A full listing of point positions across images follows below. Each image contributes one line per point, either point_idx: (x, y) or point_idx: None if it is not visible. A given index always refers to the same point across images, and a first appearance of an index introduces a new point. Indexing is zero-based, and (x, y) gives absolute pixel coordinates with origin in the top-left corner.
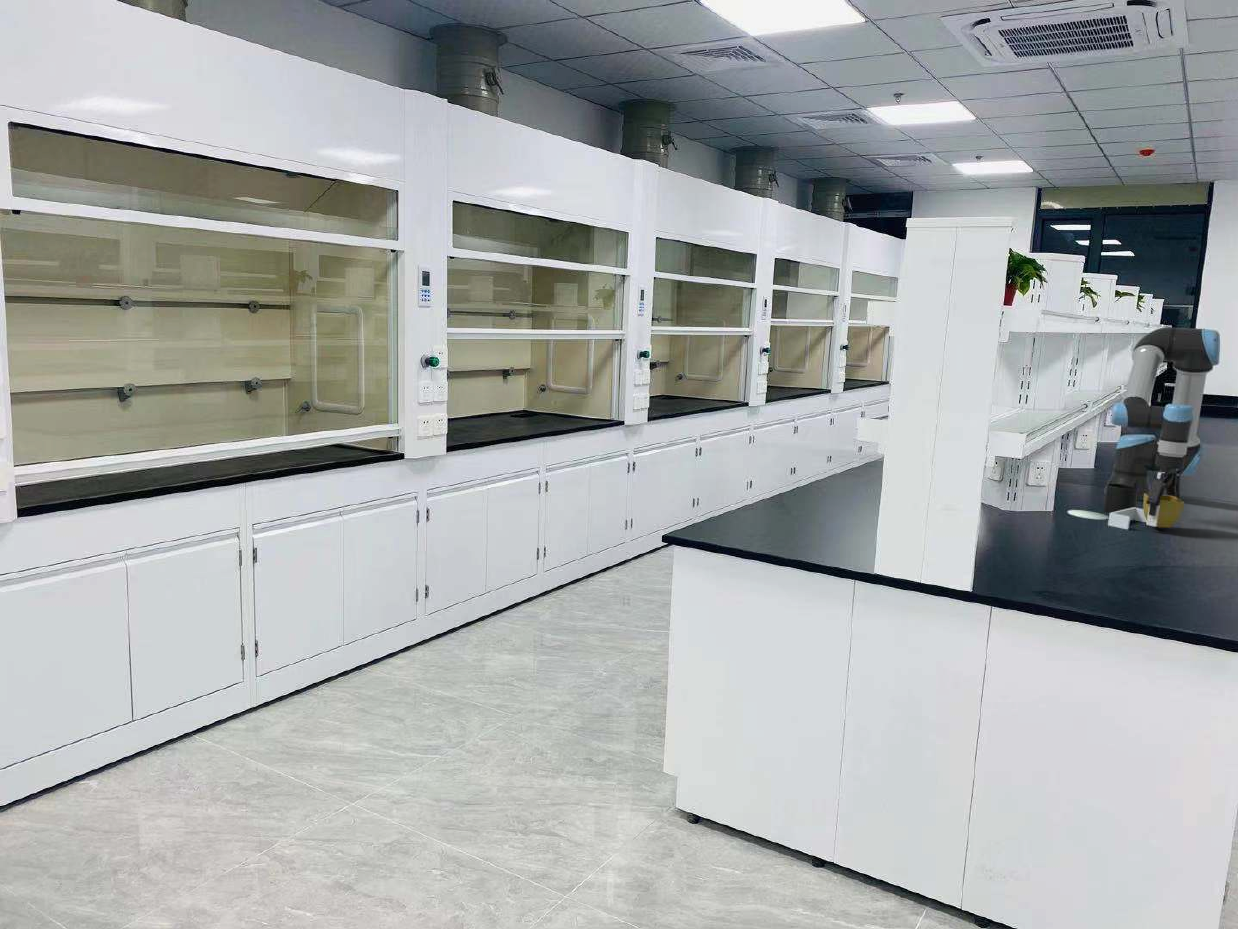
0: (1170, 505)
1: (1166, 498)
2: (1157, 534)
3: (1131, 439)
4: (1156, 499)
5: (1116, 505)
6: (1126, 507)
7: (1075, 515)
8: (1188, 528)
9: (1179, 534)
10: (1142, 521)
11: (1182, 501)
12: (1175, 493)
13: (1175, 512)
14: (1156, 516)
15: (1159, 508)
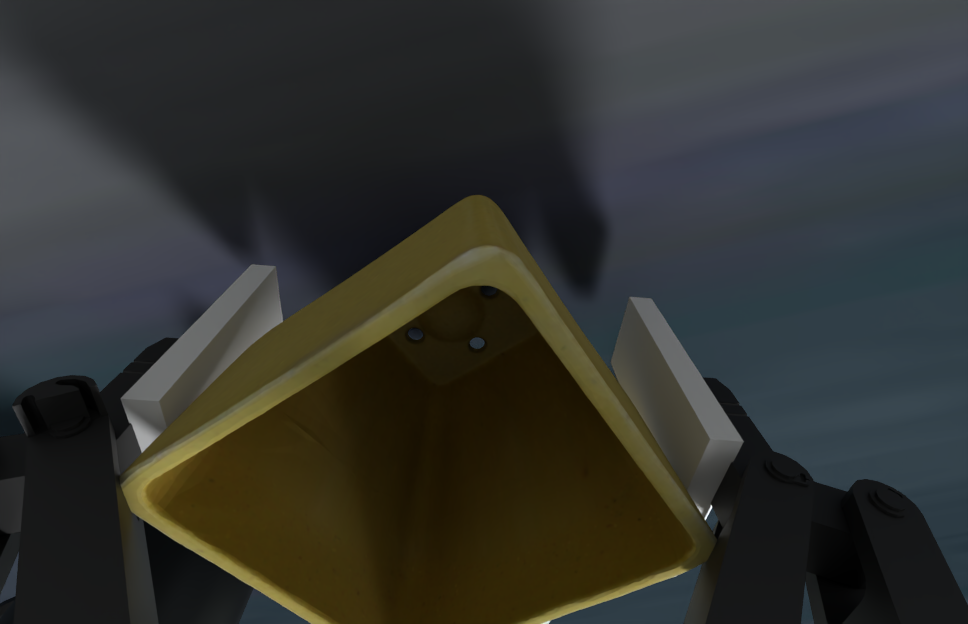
0: (599, 366)
1: (222, 503)
2: (676, 243)
3: None
4: (934, 550)
5: (232, 604)
6: (193, 565)
7: (548, 622)
8: (92, 135)
9: (486, 116)
10: None
11: (439, 292)
12: (86, 521)
13: (529, 256)
14: (683, 359)
15: (701, 413)
